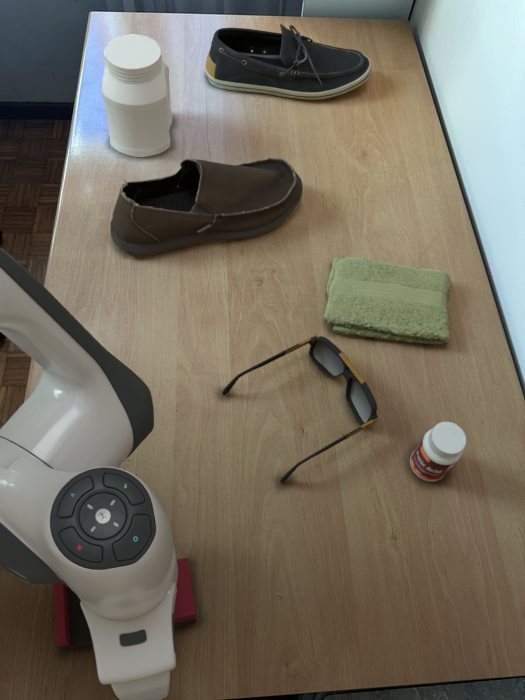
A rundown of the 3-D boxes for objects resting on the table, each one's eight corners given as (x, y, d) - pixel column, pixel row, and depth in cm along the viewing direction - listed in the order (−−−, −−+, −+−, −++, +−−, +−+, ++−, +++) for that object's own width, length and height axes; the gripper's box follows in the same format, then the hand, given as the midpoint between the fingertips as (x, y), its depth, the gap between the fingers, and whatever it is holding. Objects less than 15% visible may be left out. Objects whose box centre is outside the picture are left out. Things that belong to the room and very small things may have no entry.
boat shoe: (369, 107, 117) (381, 61, 109) (203, 96, 115) (203, 48, 107) (365, 68, 123) (376, 21, 115) (206, 57, 121) (206, 9, 113)
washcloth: (329, 260, 98) (332, 246, 96) (447, 279, 98) (454, 266, 95) (320, 333, 91) (323, 320, 89) (447, 354, 91) (454, 342, 88)
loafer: (314, 219, 102) (324, 167, 93) (130, 280, 94) (121, 230, 85) (282, 172, 107) (289, 118, 98) (104, 226, 99) (93, 173, 90)
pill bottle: (402, 466, 82) (420, 438, 75) (422, 439, 84) (442, 410, 77) (434, 490, 81) (456, 465, 74) (454, 462, 83) (477, 435, 76)
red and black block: (62, 649, 69) (55, 644, 65) (59, 590, 72) (52, 582, 68) (196, 621, 71) (196, 615, 68) (188, 565, 74) (187, 556, 71)
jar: (115, 108, 112) (103, 25, 99) (172, 110, 113) (168, 28, 100) (109, 156, 106) (95, 74, 93) (169, 158, 107) (163, 78, 94)
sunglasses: (221, 395, 85) (222, 376, 81) (318, 345, 90) (323, 325, 86) (280, 484, 80) (284, 469, 75) (380, 426, 85) (389, 408, 80)
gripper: (82, 466, 63) (102, 511, 75) (100, 704, 53) (120, 713, 65) (148, 455, 64) (158, 501, 76) (179, 687, 54) (184, 698, 66)
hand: (140, 600), depth 70 cm, fingers closed on red and black block, 6 cm apart
